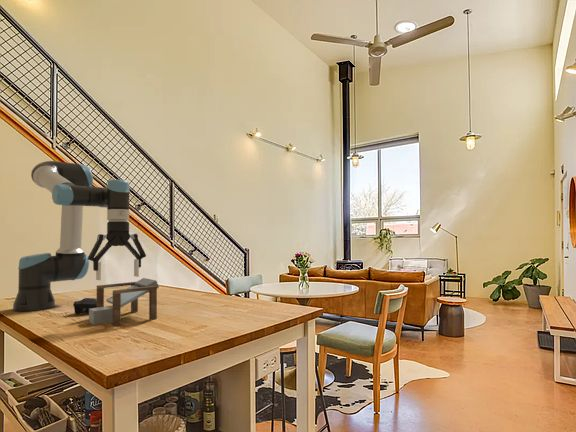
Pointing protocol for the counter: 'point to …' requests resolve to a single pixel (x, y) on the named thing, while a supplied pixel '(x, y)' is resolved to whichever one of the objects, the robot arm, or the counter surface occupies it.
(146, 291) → the trapdoor
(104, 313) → the grey rectangular block
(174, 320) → the counter surface
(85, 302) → the rock
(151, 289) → the trapdoor frame
